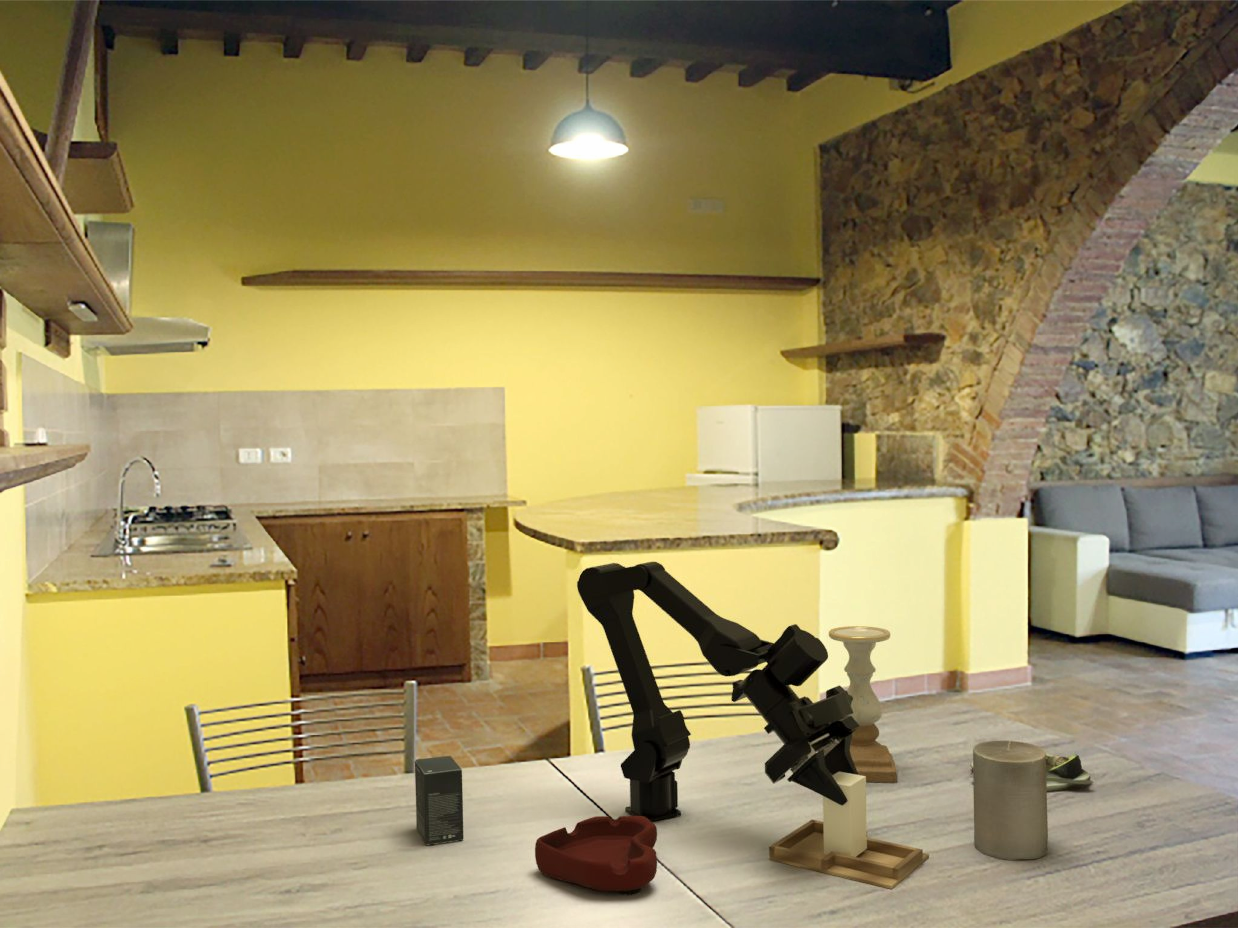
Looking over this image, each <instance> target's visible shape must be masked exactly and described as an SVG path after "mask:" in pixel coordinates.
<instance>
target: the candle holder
mask: <svg viewBox="0 0 1238 928" xmlns="http://www.w3.org/2000/svg"><path fill="white" fill-rule="evenodd" d="M828 637H829V639H831V640H834V641H837V642H841V643H842V644H843V647H844V648H845V649H846V650H847V653H848V661H847V663H846V665H845V666H844V668H843V671H844V672H846V676H847V677H848V679H849V685H848V687H847V689H846V690H847V692H848V694H849V695H851V696H852V697H853V701H852V703H851V708H852V710H853V712H854V713H853V714H851V715H850V714H849V715H850V716H852V717H853V718H854V720H855V721H856V722H857V723H858V724H859V728H858V729H857V730H856V731H855V732H853V733H852V735H853V738H852V739H851V743H850V754H851V757H852V760H853V762H854V765H855V767H856V770H857V772H858V774H859V775H861V776H866V783H885V784H887V783H890V784H892V783H897V782H898V772H897V767H896V763H895V759H894V758H893V755H892V754H891V753H890V751H889V750H890V749H889V748H888V746H887V745H885V744H881V743H880V742H878V741H876V740H877V739H878V738H879V735H880V730H879V727H877V725H876V724H875V723H877V722H879V721H880V719H881V718H882V716H883V712H884V711H883V705H882V703H881V701H880V700H879V698H878V697H877V695H876V694H875V692H874V690H873V688H872V685H871V680H872V677H873V676H874V673H875V672H876V671H877V669H876V667H875V666H874V665H873V663H872V660H871V654H872V651H873V650H875V647H876V645H877V643H882V642H885V641H888V640H889V639H890V638H891V631H889V630H888V629H885V628H882V627H881V628H880V627H874V626H862V625H861V626H858V625H856V626H855V625H854V626H851V625H850V626H841V627H834V628H831V629H830V630H829V631H828ZM831 775H832V774H831Z"/></svg>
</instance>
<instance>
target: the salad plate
mask: <svg viewBox="0 0 1238 928" xmlns="http://www.w3.org/2000/svg"><path fill="white" fill-rule="evenodd" d="M969 766H970V767H971V769H972V770H973V761H972V762H971V763H970V765H969ZM970 778H972V779H973V772H971V773H970ZM1046 782H1047V792H1050V791H1052V792H1053V791H1067V790H1070V791H1071V790H1078V789H1081V788H1083V787H1085V786H1087V785H1090V784H1094V781H1093V780H1091V774H1090V773H1089V772H1088V771H1087V770H1085V769H1084V768H1083V767H1082V760H1081V758H1080V755H1078V754H1073V755H1071V756H1068V757H1066V756H1059V755H1058V756H1057V755H1055V754H1051V753H1046Z"/></svg>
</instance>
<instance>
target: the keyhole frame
mask: <svg viewBox="0 0 1238 928" xmlns="http://www.w3.org/2000/svg"><path fill="white" fill-rule="evenodd" d="M768 853H769V858H768V859H769V860H770V861H773V862H777V863H781V864H787V865H789V866H794V867H799V868H803V869H806V870H809V871H815V872H819V873H823V874H828V875H832V876H836V877H839V878H840V877H841V878H844V879H848V880H851V881H857V882H860V883H864V884H869V885H873V886H876V887H881V888H885V889H889V890H892V889H893V888H895V887H896V886H897V885H898V884H899V883H901V882H902V881H903V880H904V879H905V878H906V877H909V875H910V874H911V873H912V872H914V871H915V870H916V869H917V868H918V867H920V866H921V865H922V864H923V863H924V862H926V861H927V860H928V859H929V858H930V854H928V853H924V851H923V849H922V848H919V847H918V848H917V847H913V846H908V845H903V844H899V843H893V842H890V841H884V840H880V839H876V838H871V837H867V849H866V850H864V851H863V852H862V853H860V854H859V855H858V856H856V857H853V856H849V855H845V854H840V853H836V852H830V853H829V854H827V855H826V854H824V831H823V821H821V820H815V819H810V820H809V821H807V822H806V823H804V824H802V825H801V826H799V827H798V828H796V829H795V830H793V831H792V832H790V833H789V834H787V835H785V836H784V837H782V838H781V839H779V840H777V841H776V842H774V843H772V844H771V845H770V846H768Z"/></svg>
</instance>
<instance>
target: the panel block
mask: <svg viewBox="0 0 1238 928" xmlns="http://www.w3.org/2000/svg"><path fill="white" fill-rule="evenodd" d="M832 776H833V778H834V779H835V781H836V782H837V784H838V785H839V787H840V788H841V790H842V791H843V793H844V795H845V796H846V798H847V800H848V801H847V802H846V803H845V804H844V805H839V804H838V803H836V802H834V801H832V800H830V799H828V798H826V797H824V796H822V810H823V811H822V812H823V813H822V814H823V816H822V818H823V819H822V820H823V821H822V822H823V831H824V854H826V855H827V854H829V853H830V852H836V853H840V854H845V855H849V856H853V857H856V856H858V855H859V854H860V853H862V852H863V851H864V850H866V849H867V838H868V830H867V829H868V828H867V827H868V825H867V782H866V776H861V775H856V774H850V773H845V772H837V773H836V774H834V775H832Z"/></svg>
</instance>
